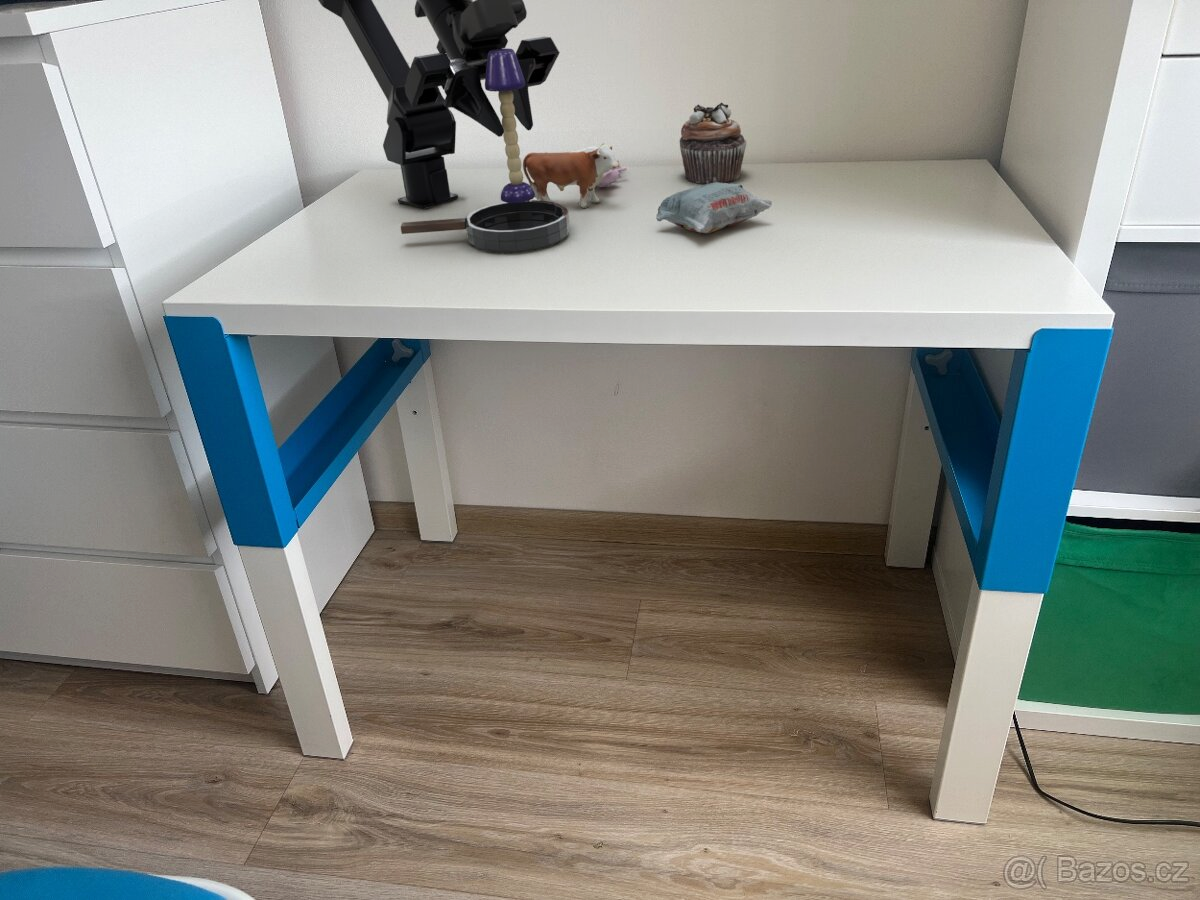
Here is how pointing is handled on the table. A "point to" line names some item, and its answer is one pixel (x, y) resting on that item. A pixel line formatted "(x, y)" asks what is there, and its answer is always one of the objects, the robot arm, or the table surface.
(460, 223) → the pan handle
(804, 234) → the table surface
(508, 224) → the pan
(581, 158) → the bull figurine
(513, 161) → the toy lamp
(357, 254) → the table surface
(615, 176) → the rabbit figure
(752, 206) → the packaged food
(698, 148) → the cupcake
